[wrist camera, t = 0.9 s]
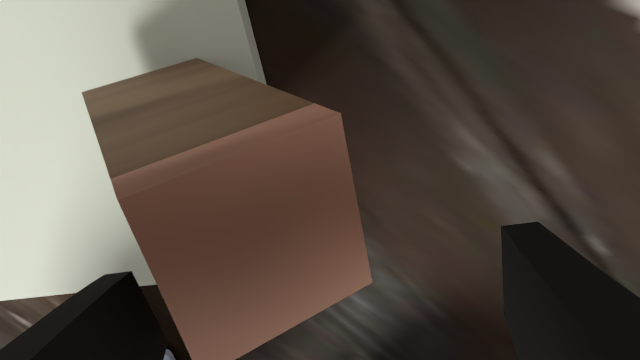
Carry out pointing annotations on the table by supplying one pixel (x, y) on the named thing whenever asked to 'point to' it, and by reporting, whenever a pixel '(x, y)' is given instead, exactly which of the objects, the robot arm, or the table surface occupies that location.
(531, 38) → the table surface
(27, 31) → the board
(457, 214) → the table surface
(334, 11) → the table surface
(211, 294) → the walnut block
